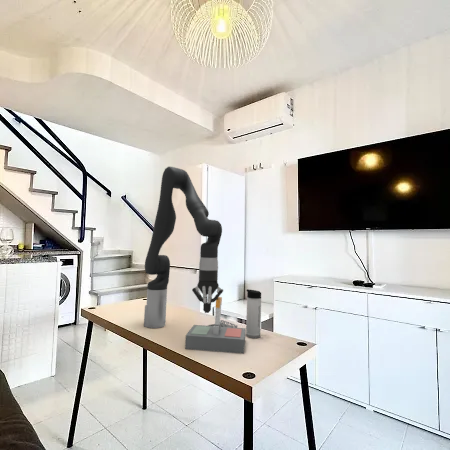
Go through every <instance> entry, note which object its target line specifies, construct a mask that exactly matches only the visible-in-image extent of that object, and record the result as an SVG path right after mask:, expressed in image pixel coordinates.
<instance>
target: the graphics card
mask: <svg viewBox="0 0 450 450" xmlns="http://www.w3.org/2000/svg"><path fill="white" fill-rule="evenodd" d="M220 321H221V327H234V328H239V327H238V324H234V323H231V322H228V321H226V320H224V319H220ZM207 326H215V323H213V324H207Z"/></svg>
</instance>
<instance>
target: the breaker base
mask: <svg viewBox="0 0 450 450" xmlns="http://www.w3.org/2000/svg"><path fill="white" fill-rule="evenodd" d="M184 342H185V343H184V344H185V345H184V349H185V350H194V351H195V350H196V351H207V352H217V353H219V352H220V353H229V354H230V353H231V354H233V353H234V354H244V353H245V347H246V346H245V345H246V327H238V328H234V327H221V321H220V326H208V325H205V324H204V325H203V324H193V326H192V327H190V329H189V330H188V331H187V333H186V335H185V341H184Z"/></svg>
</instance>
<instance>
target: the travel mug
mask: <svg viewBox="0 0 450 450" xmlns="http://www.w3.org/2000/svg"><path fill="white" fill-rule="evenodd" d="M246 293H247V294H246V295H247V296H246V322H245V324H246V325H245V326H246V327H245V328H246V332H245V337H247V338H250V339H259V338H261V328H262V327H261V325H262V323H261V321H262V319H261V318H262V292H261V291H259V290H254V289H247V288H246Z"/></svg>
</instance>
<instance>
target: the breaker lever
mask: <svg viewBox="0 0 450 450" xmlns="http://www.w3.org/2000/svg"><path fill="white" fill-rule="evenodd" d="M222 300H223V297H222V296H219V297H218V298H217V299H216V301H215V315H214V324H215V326H220V320H221V314H222V304H223V303H222V302H223V301H222Z"/></svg>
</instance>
